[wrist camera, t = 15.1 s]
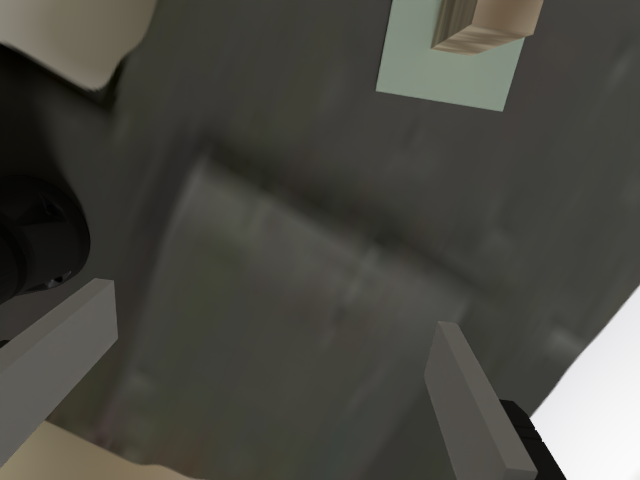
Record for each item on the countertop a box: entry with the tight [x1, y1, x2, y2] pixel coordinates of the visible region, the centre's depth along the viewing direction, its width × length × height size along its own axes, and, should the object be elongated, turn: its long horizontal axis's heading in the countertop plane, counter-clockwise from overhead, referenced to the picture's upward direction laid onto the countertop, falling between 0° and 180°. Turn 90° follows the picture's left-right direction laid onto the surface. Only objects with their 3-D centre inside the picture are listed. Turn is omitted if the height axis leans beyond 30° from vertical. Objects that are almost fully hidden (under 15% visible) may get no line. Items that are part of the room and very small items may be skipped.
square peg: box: [430, 0, 543, 56], centre depth 33 cm, size 4×4×14 cm
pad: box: [375, 0, 525, 111], centre depth 40 cm, size 14×14×1 cm
